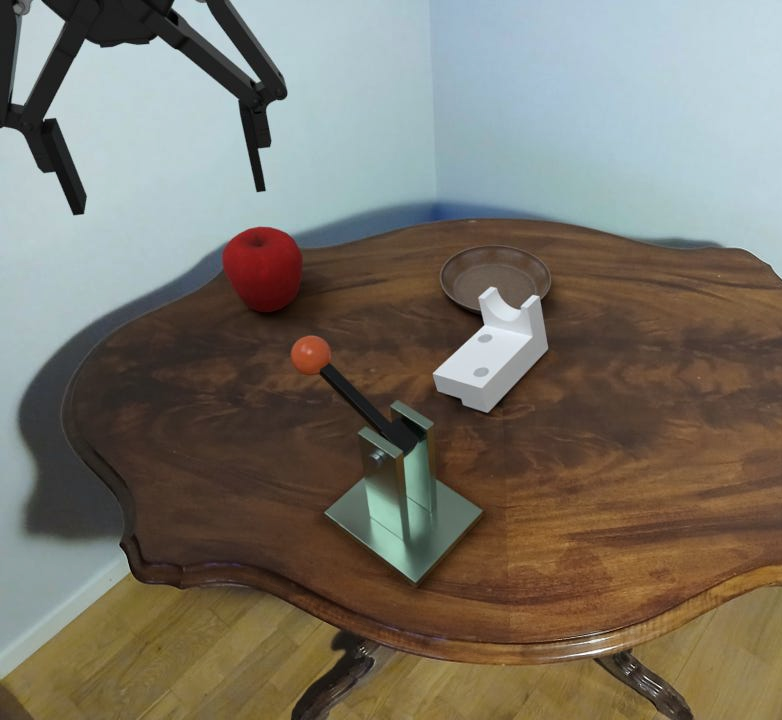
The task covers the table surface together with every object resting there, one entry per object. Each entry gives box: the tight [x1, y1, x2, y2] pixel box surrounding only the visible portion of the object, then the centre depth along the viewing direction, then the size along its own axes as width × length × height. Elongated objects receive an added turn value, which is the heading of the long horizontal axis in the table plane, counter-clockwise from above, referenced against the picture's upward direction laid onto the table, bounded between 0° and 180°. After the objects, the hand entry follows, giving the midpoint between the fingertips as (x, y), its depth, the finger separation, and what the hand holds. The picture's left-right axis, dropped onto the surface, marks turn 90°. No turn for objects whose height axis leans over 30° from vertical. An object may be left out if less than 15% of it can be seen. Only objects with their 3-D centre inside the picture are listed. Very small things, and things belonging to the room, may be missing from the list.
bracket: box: [432, 287, 549, 414], centre depth 85 cm, size 13×7×8 cm, turn 145°
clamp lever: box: [290, 335, 420, 458], centre depth 65 cm, size 14×4×4 cm, turn 52°
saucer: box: [439, 244, 552, 316], centre depth 97 cm, size 15×15×3 cm
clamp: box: [323, 399, 484, 590], centre depth 67 cm, size 12×10×14 cm
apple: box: [221, 226, 303, 313], centre depth 92 cm, size 10×10×11 cm
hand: (172, 194), depth 58 cm, fingers open, 13 cm apart
